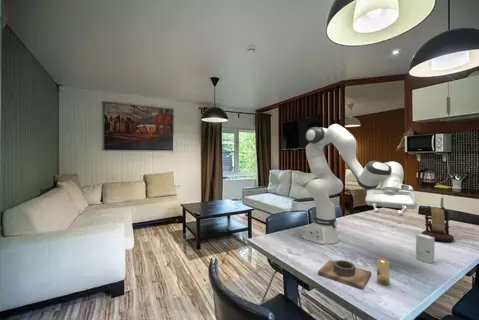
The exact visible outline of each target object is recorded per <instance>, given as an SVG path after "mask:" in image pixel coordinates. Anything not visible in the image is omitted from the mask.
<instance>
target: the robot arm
mask: <svg viewBox="0 0 479 320" xmlns="http://www.w3.org/2000/svg"><path fill="white" fill-rule="evenodd" d="M305 139H306V141H307V145H306V146H305V154H306V159H307V162H308V166H309V169H310V172H311V173H312V174H314V175H315V176H316V177H317V178H315V179H311V180H309V181H308V182H307V185H306V190H307V193H308V194H309V195H310V196H311V197H312V198H313V200H314V202H315V207H316V208H315V209H316V215H315V216H314V217H313V219H312V221H313V222H312V223H310V224H309V225H307V226H306V227H305V231H304V233H302V234H301V239H303V238H304V239H303V240H307V241H311V242H313V243H316V244H319V245H327V244H328V245H329V244H330V245H332V244H338V243H339V242H340V239H339V237H338V232H337V218H336V205H335V204H334V203H333V202H331V200H330V197H329V196H331V195H332V196H334V195H336V194H340V193H341V192H342V191H343V189H344V184H343V181H342V180H341V179H340V178H338V177H337V176H336V175H335V174H334V173H333V171H332V170H331V169H330V167H329V164H328V162H327V159H326V156H325V154H324V149H325V148H328V147H329V146H330V145H333V146H334V147H335V148H336V150H337V151H338V153H339V154H340V156H341V159H342V160H343V162H344V163H345V165H346V166H347V167H348V169H349V170H350V171H351V173H352V174H353V176H354V177H355V179H356V182H357V184H358V186H359V187H361V188H362V189H364V190H366V195H365V196H366V197H365V199H364V200H365V203H366V205H368V206H373V209H374V213H375V214H379V211H380V209H379V208H377V207H386V208H395V209H396V208H397V209H401V210H398V214H397V215H398V216H399V217H403V216H404V213H406V212H407V209H408V210H416V209H417V208H418V203H417V199H416V194H415V191H414V188H413V186H412V185H407V184H403V182H404V174H405V172H404V168H403V165H402V164H400V163H399V162H396V161H388V162H383V161H382V162H381V161H380V160H379V161H378V160H371V161H368V162H367V163H366V165H365V166H364V167H363V166H362V165H361V164H360V162H359V160H358V159H357V155H356V154H357V140H356V138H355V137H354V135H353V134H352V133H350V131H348V130H347V129H346V128H345V127H343V126H341V125H340V124H338V123H334V124H331V125H329V127H328V128H326V127H318V126H312V127H310V128H308V129H307V130H306V132H305ZM380 183H381V184H380ZM379 184H380V188H378V186H379Z"/></svg>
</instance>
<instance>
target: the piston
mask: <svg viewBox="0 0 479 320" xmlns="http://www.w3.org/2000/svg"><path fill="white" fill-rule="evenodd" d="M390 276H391V275H390V261H389V260H388V258H387V259H386V258H382V257H376V281H377V283H378V284H379V285H382V286H390V284H391V283H390V282H391V279H390Z"/></svg>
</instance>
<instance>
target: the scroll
mask: <svg viewBox="0 0 479 320" xmlns="http://www.w3.org/2000/svg"><path fill="white" fill-rule="evenodd" d="M424 212H425V216H424V219H425V224H424V225H425V230H423V231H422V232H421V234H424V235H428V236H431V237H434V238H435V240H437V241H443V242H444V241H445V242H449V243H452V241H454V239H455V238H454V235H451V233H450V229H449V228H450V225H449V224H450V223H449V222H450V218H449V213H450V211H449V210H447V209H446V208H445V207H444V206H442V207H441V209H440V208H431V205H428V206H427V208H425V209H424Z"/></svg>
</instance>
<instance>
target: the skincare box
mask: <svg viewBox="0 0 479 320" xmlns="http://www.w3.org/2000/svg"><path fill="white" fill-rule="evenodd" d="M415 239H416V240H415V259H416V260H419V261H422V262H425V263H427V264H432V263H434V262H435V240H436V239H435V238H434V237H431V236H428V235H424V234H422V233H419V234H416V235H415Z"/></svg>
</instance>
